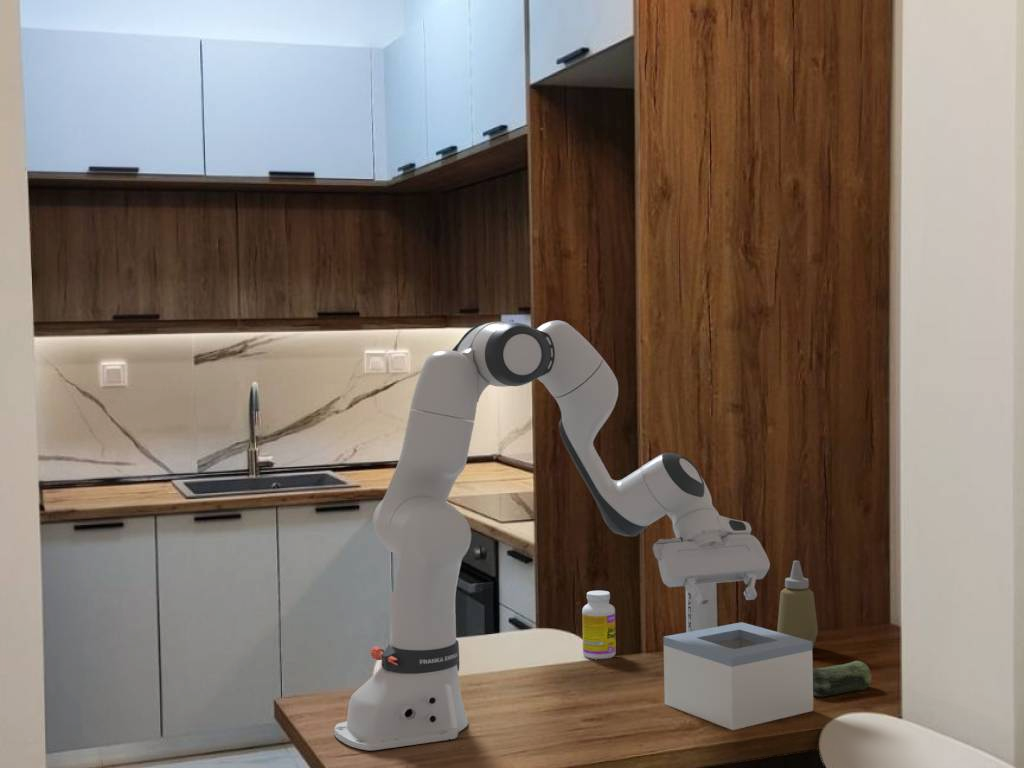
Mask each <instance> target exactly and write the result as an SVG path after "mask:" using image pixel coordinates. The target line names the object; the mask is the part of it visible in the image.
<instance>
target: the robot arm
mask: <svg viewBox="0 0 1024 768" xmlns="http://www.w3.org/2000/svg"><path fill="white" fill-rule="evenodd" d="M417 379H418V380H417V383H416V385H415V388H414V393H413V396H412V399H411V403H410V409H409V414H408V419H407V424H406V429H405V432H404V433H405V434H404V438H403V443H402V448H401V451H400V454H399V459H398V461H397V465H396V467H395V470H394V472H393V474H392V477H391V480H390V482H389V485H388V487H387V490H386V492H385V494H384V496H383V499H382V500H381V501H380V502H379V503H378V505H377V506H376V508H375V510H374V512H373V515H372V529H373V531H374V534H375V535H376V537H377V539H378V541H379V542H380V543H381V544H382V546H383V547H384V548H385V549H386V550H387V551H389V552H391V553H392V554H395V555H397V557H398V569H397V575H396V576H397V577H396V580H395V585H394V589H393V591H392V592H391V594H390V596H389V599H388V600H389V629H390V631H389V632H390V633H389V634H390V642H389V643H388V645H387V647H386V648H385V649H382V648H381V647H379V646H373V647H372V648H371V649H370V650H369V651H370V652H369V655H370V657H371V658H372V659H374V660H376V661H381V667H380V668H379V669H378V670H377V671H376V672H375V673H374V674H373V675H371V677H370V678H369V679H368V680H367V681H366V682H365V683H364V684H363V685H361V686H360V687H359V688H358V689H357V690H356V691H354V692H353V693H352V695H351V697H350V699H349V702H348V709H347V718H346V721H342V722H339V723H337V724H335V726H334V731H333V733H334V736H335V737H336V738H337V739H338V740H339V741H340V742H341V743H343V744H345V745H347V746H349V747H352V748H355V749H359V750H364V751H379V750H384V749H385V750H386V749H392V748H393V749H394V748H399V747H405V746H414V745H415V746H416V745H420V744H421V745H422V744H428V743H436V742H442V741H449V739H450V740H454V739H456V738H458V735H459V733H460V732H461V731H463V730H464V729H466V728H467V726H468V725H469V721H468V717H467V715H466V710H465V708H464V703H463V699H462V692H461V686H460V679H459V671H460V646H459V641H458V639H457V629H456V628H457V626H456V624H457V623H456V622H457V621H456V620H457V619H456V593H457V586H458V581H459V575H460V570H461V566H462V563H463V562H462V561H463V558H464V557H465V556H466V555H467V553H468V550H469V549H470V545H471V542H472V531H471V526H470V523H469V522H468V520H467V519H466V518H465V516H464V515H463V514H462V513H461V512H460V511H459V510H458V509H457V508H456V507H454V506H453V505H452V504H451V503H448V502H447V501H448V499H449V496H450V493H451V491H452V489H453V487H454V484H455V482H456V480H457V478H458V477H459V476H460V474H461V473H462V472H463V471H464V469H465V467H466V465H467V462H468V461H467V460H468V456H469V452H470V445H471V440H472V434H473V430H474V424H475V419H476V414H477V406H478V403H479V400H480V398H481V396H482V393H484V391H485V390H486V388H487V387H490V385H491V386H493V387H501V388H502V387H503V388H505V387H520V386H521V387H522V386H524V385H527V384H529V383H531V382H533V381H534V380H537V381H539V382H540V383H542V384H543V385H544V387H545V388H546V389H547V391H548V393H550V395H551V396H552V397H553V399H555V401H556V403H557V404H558V407H559V410H560V413H561V417H560V420H559V422H558V430H559V434H560V437H561V440H562V442H563V444H564V446H565V449H566V450H567V452H568V454H569V456H570V458H571V459H572V461H573V463H574V465H575V467H576V469H577V470H578V472H579V474H580V476H581V477H582V479H583V481H584V483H585V485H586V487H587V488H588V489H589V492H590V493H591V495H592V497H593V499H594V501H595V503H596V505H597V508H598V509H599V512H600V514H601V517H602V518H603V519H602V520H604V522H605V524H606V526H607V527H608V528H609V530H610V531H611V532H613V534H617V535H620V536H623V537H636V536H638V535H639V534H641V532H643V531H644V530H646V529H647V528H649V527H650V525H651V524H653V523H655V522H656V521H658V520H659V519H661V518H663V517H665V516H666V515H667V516H668V517H669V519H670V521H671V522H672V530H673V533H674V536H675V537H673V538H661V539H658V540H657V541H656V542H654V543H653V545H652V551H653V555H654V557H655V559H656V560H657V562H658V563H657V564H658V569H659V574H660V578H661V580H662V583H663V584H664V585H666V586H667V587H668V588H676V587H684V588H685V592H686V591H688V592H689V593H690V594H691V595H692V596H694V597H695V598H696V601H697V603H698V605H701V604H707V602H708V600H709V598H708V596H707V593H706V591H701V590H700V589H699V588H698V587H697V586H696V585H700V584H712V583H716V584H721V583H732V582H734V583H735V582H743V583H744V584H745V585H747V587H746V588H745V589H744V591H743V596H744V597H745V600H746V601H751V600H752V601H753V600H755V599H756V598H757V596H758V594H757V590H756V587H755V586H756V581H757V580H763V579H764V578H765V576H766V575H767V574H768V571H769V570H770V567H771V564H770V560H769V557H768V555H767V553H766V551H765V548H763V545H762V543H761V542H760V541H759V539H758V538H757V537H756V536H754V535H753V534H751V532H752V527H751V525H750V523H749V522H747V521H743V520H738V519H734V518H733V519H732V518H729V517H726V516H724V515H720V514H719V512H718V510H717V509H716V508H715V506H713V500H712V495H711V492H710V490H709V488H708V486H707V484H706V482H705V480H704V479H703V477H702V475H701V473H700V471H699V469H698V468H697V466H696V465H695V464H694V463H693V462H692V460H690V459H689V458H687V457H685V456H684V455H683V456H682V455H680V454H677V453H672V452H663V453H662V454H659V455H658V456H656V457H654V458H653V459H651V460H649V461H648V462H647V463H645V464H643V465H642V466H641V467H639V468H638V469H636V470H634V471H633V472H631V473H630V474H628V475H627V476H625V477H623V478H622V479H619V480H618V479H617V480H615V479H612V478H611V476H610V474H609V472H608V470H607V468H606V466H605V464H604V463H603V461H602V458H601V457H600V456H599V454H598V452H597V450H596V448H595V446H594V440H595V439H596V437H597V435H598V433H599V431H600V430H601V428H603V426H604V425H605V423H606V422H607V420H608V419H609V418H610V416H611V414H612V412H613V410H614V408H615V406H616V404H617V400H618V397H619V384H618V379H617V376H616V375H615V373H614V372H613V369H611V367H610V366H609V364H608V363H607V362H606V360H605V359H604V358H603V356H602V355H601V354H600V353H599V352H598V350H596V349H595V347H594V346H593V345H592V344H591V343H590V342H589V341H588V340H587V339H586V338H585V337H584V336H583V335H582V334H581V333H580V332H579V331H578V330H577V329H575V328H574V327H573V326H572V325H570V323H568V322H566V321H563V320H558V319H557V320H551V321H547V322H544V323H542V324H541V325H539V326H538V327H537V328H536V327H533V326H530V325H527V324H524V323H521V322H509V321H503V320H502V321H492V322H487V323H486V322H485V323H481V324H477V325H475V326H473V327H472V328H470V329H469V330H467V331H466V333H464V335H463V336H462V337H461V338H460V340H459V342H457V343H456V345H455V346H454V347H453V348H452V350H451V349H449V350H448V349H446V350H438V351H436V352H433V353H431V354H430V355H429V356H428V357H427V358H426V360H425V361H424V363H423V366H422V368H421V371H420V374H419V376H418V378H417Z"/></svg>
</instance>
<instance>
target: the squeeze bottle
mask: <svg viewBox="0 0 1024 768" xmlns="http://www.w3.org/2000/svg"><path fill="white" fill-rule="evenodd" d="M784 587H785V588H783V589H781V591H780V596H779V607H778V618H777V619H778V620H777V629H776V630H777V631H776V632H779V633H783V634H787V635H790V636H794V637H798V638H801V639H805V640H809V641H812V650H813V649H814V647H815V646H814V645H815V643H816V640H817V636H818V633H819V628H818V621H817V612H816V604H815V596H814V592H813V591H812V590H811V589H810V588H809V579H808V578H806V577H804V575H803V571H802V566H801V563H800V560H793V563H792V567H791V571H790V577H785V579H784Z"/></svg>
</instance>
